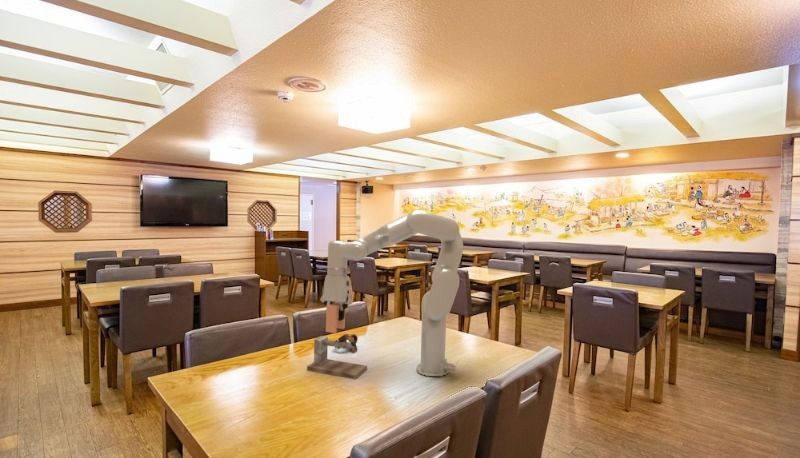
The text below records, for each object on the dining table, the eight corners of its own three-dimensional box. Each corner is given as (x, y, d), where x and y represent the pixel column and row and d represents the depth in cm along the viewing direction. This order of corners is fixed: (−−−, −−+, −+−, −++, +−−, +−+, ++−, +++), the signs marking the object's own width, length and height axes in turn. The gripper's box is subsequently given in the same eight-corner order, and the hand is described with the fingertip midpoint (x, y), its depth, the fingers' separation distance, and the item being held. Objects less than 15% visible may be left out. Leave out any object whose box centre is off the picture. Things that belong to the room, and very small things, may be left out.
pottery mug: (351, 356, 166) (342, 340, 166) (337, 361, 171) (327, 345, 171) (366, 342, 176) (357, 326, 176) (352, 347, 181) (343, 332, 181)
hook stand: (367, 369, 150) (367, 340, 150) (355, 379, 141) (356, 348, 141) (320, 361, 158) (321, 333, 157) (306, 370, 148) (307, 340, 148)
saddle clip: (344, 327, 152) (345, 302, 152) (334, 333, 145) (335, 306, 145) (335, 326, 154) (336, 301, 153) (325, 331, 146) (326, 305, 146)
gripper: (360, 272, 150) (359, 319, 150) (323, 269, 155) (322, 314, 156) (352, 275, 143) (350, 324, 143) (313, 271, 148) (311, 319, 149)
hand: (335, 318), depth 149 cm, fingers closed on saddle clip, 4 cm apart
